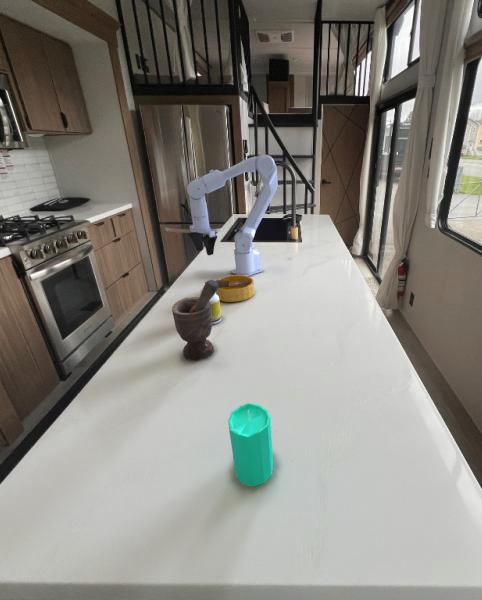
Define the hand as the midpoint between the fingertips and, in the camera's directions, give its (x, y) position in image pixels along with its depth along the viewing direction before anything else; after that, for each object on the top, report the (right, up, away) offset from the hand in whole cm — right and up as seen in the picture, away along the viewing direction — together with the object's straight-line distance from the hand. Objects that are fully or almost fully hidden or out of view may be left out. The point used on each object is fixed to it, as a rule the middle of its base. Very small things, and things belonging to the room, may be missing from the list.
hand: (205, 252), depth 122 cm
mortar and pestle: (+11, -31, -43) cm, 54 cm away
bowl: (+13, -16, -12) cm, 24 cm away
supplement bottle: (+9, -24, -28) cm, 38 cm away
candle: (+26, -44, -71) cm, 88 cm away
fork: (+11, -13, -15) cm, 23 cm away
